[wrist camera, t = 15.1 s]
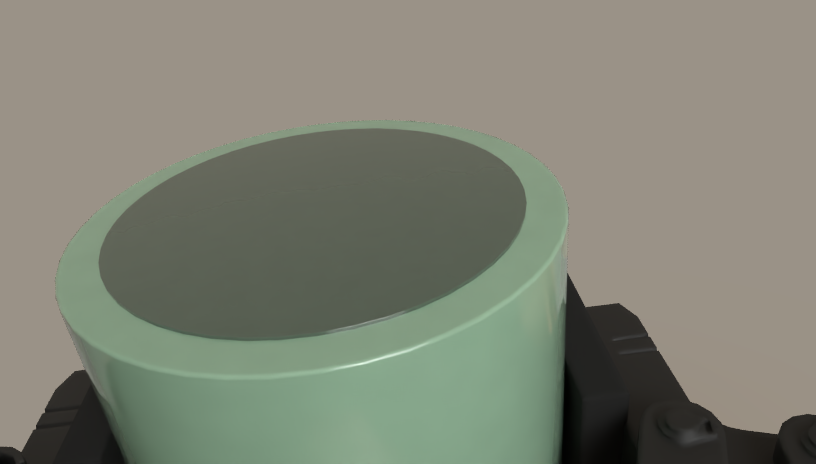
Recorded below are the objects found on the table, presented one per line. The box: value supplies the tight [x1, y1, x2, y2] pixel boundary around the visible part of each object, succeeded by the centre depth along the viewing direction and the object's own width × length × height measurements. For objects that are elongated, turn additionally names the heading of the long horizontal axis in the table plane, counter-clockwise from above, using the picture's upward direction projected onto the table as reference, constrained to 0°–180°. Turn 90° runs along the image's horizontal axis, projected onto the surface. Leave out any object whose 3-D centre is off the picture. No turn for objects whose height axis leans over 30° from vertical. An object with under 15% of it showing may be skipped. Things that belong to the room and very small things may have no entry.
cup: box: [55, 120, 569, 464], centre depth 13 cm, size 8×8×11 cm
